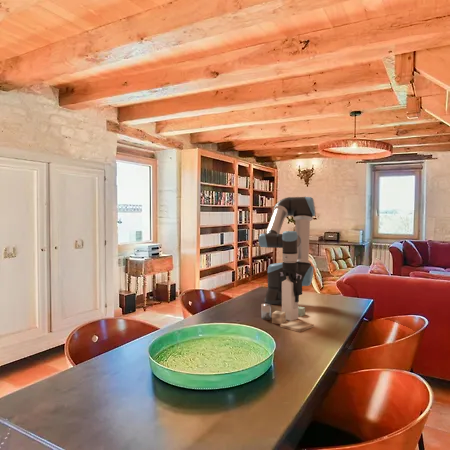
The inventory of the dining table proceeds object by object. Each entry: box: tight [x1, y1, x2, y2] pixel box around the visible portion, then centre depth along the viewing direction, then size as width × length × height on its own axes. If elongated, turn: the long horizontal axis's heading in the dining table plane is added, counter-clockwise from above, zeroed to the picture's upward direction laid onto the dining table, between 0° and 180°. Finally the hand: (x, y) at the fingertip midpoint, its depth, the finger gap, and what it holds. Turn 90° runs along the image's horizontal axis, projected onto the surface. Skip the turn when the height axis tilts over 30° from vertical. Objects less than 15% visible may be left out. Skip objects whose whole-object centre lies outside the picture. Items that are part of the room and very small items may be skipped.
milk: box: [281, 276, 299, 322], centre depth 188 cm, size 6×6×22 cm
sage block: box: [298, 305, 306, 317], centre depth 196 cm, size 7×4×4 cm, turn 55°
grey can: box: [260, 302, 272, 321], centre depth 190 cm, size 5×5×7 cm
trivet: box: [279, 319, 314, 333], centre depth 175 cm, size 11×11×1 cm
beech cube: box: [271, 310, 287, 325], centre depth 182 cm, size 5×5×5 cm
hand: (290, 307), depth 188 cm, fingers closed on milk, 6 cm apart
